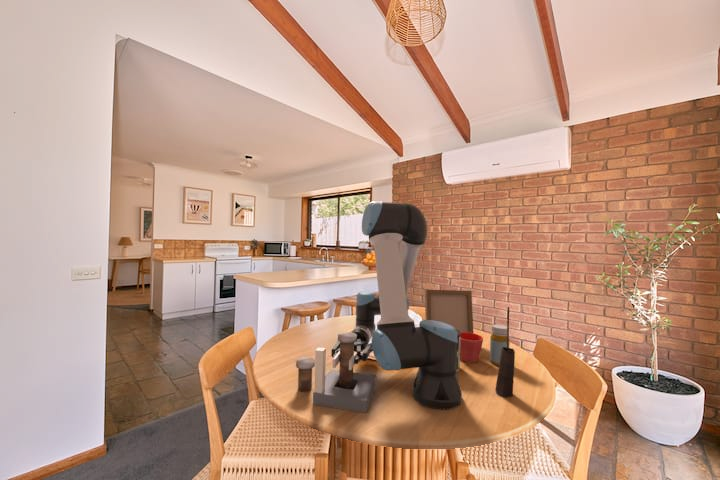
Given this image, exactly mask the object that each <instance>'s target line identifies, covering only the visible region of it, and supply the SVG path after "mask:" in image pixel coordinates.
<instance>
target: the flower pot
mask: <svg viewBox="0 0 720 480" xmlns="http://www.w3.org/2000/svg"><path fill="white" fill-rule="evenodd" d="M483 341H484V338H483V336H481V334H477V333H474V332H473V333H469V332H461V341H460V361H463V362H465V363H469V364H470V363H471V364H472V363H473V364H475V363H478V362H479V360H480V355H481V350H482V346H483Z"/></svg>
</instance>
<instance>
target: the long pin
mask: <svg viewBox="0 0 720 480" xmlns="http://www.w3.org/2000/svg"><path fill="white" fill-rule="evenodd" d="M337 340H338V341H339V342H340V362H339V370H338V371H339V386H340V387H341V388H344V389H348V388H351V387H352V386H353V372H354V367H353V368H352V370H349V360H350V359H351V357H352V356H353V354H354V353H355V351H354V342H356V341H357V334H355V333H353V332H352V331H343V332H339V333H338V334H337Z"/></svg>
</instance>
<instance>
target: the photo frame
mask: <svg viewBox="0 0 720 480" xmlns="http://www.w3.org/2000/svg"><path fill="white" fill-rule="evenodd" d="M424 300H425V301H424V303H425V305H424V309H425V310H424V311H425V314H424V315H425V317H424V318H425V319H424V320H433V321H438V322H442V323H446V324H449V325H451V326H453V327H454V328H455V329H457V330H459V331H460V332H469V333H474V320H473V318H474V316H473V299H472V290H456V289H455V290H452V289H449V290H447V289H425V290H424Z"/></svg>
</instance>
